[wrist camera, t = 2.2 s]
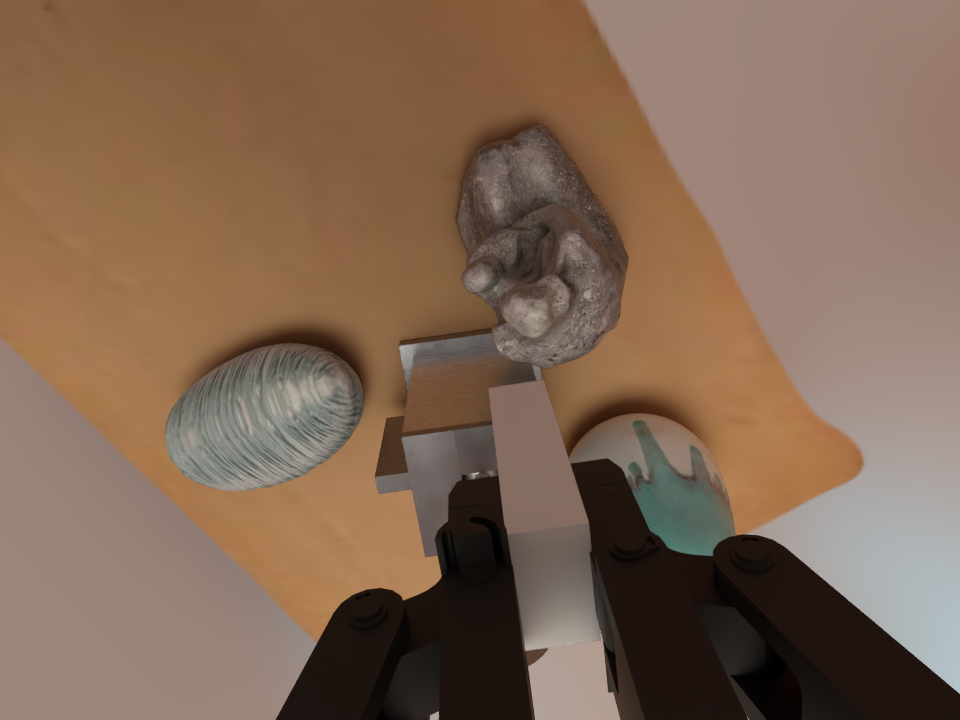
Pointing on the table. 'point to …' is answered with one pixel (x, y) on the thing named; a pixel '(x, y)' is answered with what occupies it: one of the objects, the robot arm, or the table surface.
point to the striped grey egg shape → (264, 417)
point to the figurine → (539, 250)
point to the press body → (444, 421)
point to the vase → (666, 478)
